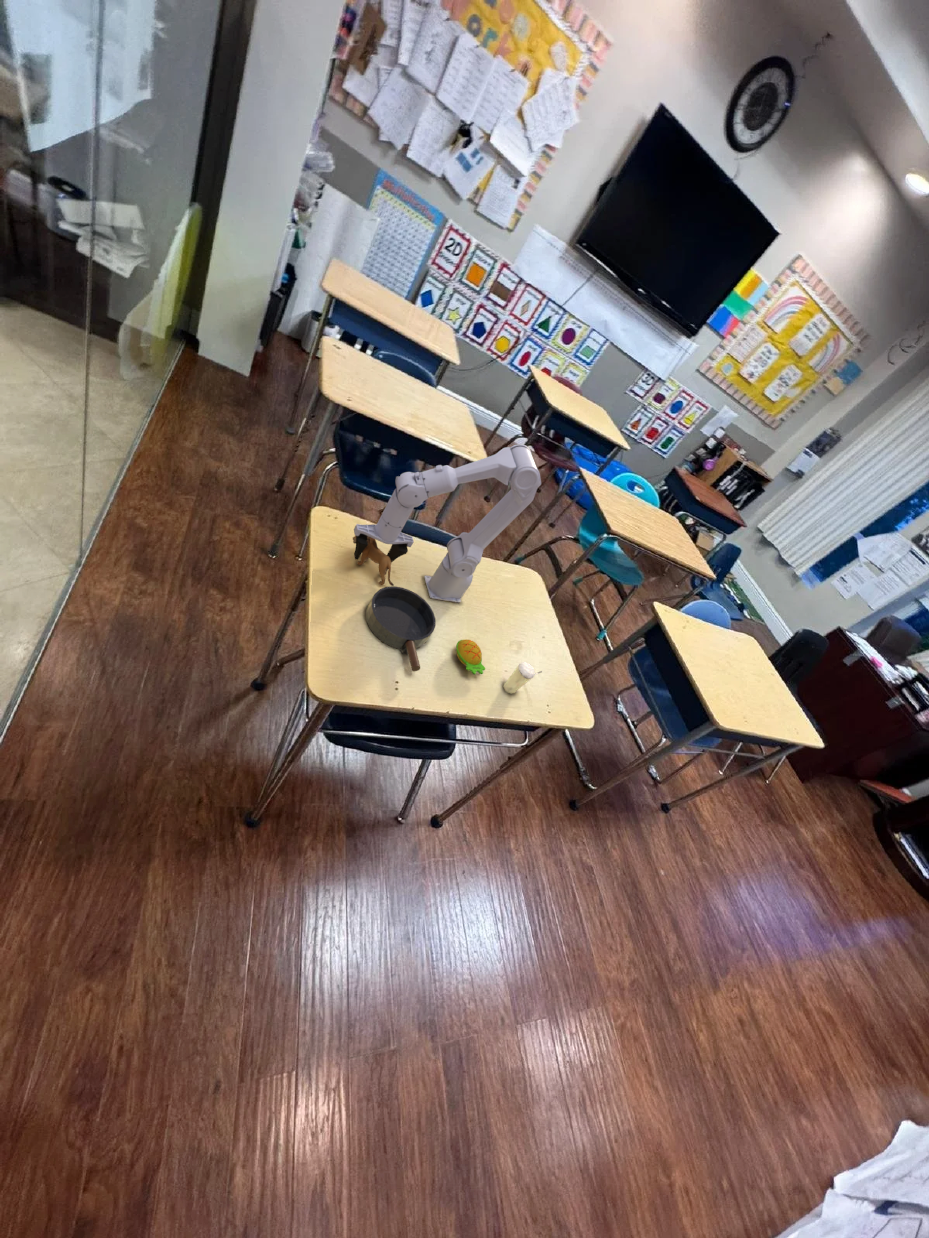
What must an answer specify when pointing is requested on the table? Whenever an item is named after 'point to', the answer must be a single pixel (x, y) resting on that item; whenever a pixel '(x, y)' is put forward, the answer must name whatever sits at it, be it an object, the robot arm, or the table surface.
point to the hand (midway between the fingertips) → (371, 559)
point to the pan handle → (411, 655)
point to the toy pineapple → (470, 655)
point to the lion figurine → (376, 559)
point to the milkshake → (519, 677)
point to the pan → (400, 617)
